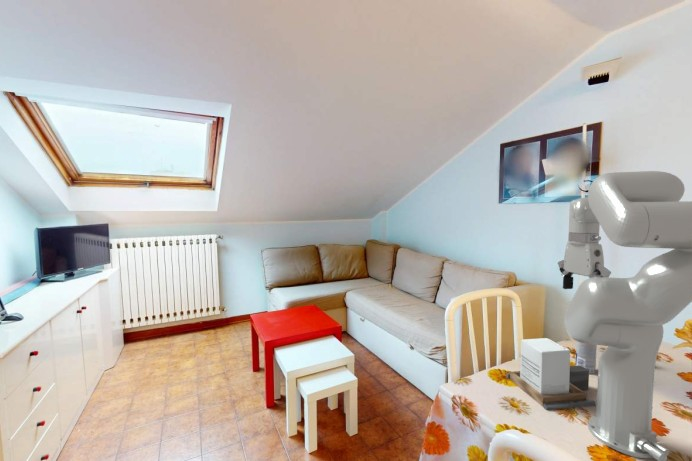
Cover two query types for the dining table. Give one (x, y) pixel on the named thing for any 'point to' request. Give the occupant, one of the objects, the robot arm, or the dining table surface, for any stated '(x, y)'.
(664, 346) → the dining table surface
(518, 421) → the dining table surface
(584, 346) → the energy drink
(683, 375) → the dining table surface
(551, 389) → the supplement box
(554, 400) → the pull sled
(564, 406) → the lane rails
